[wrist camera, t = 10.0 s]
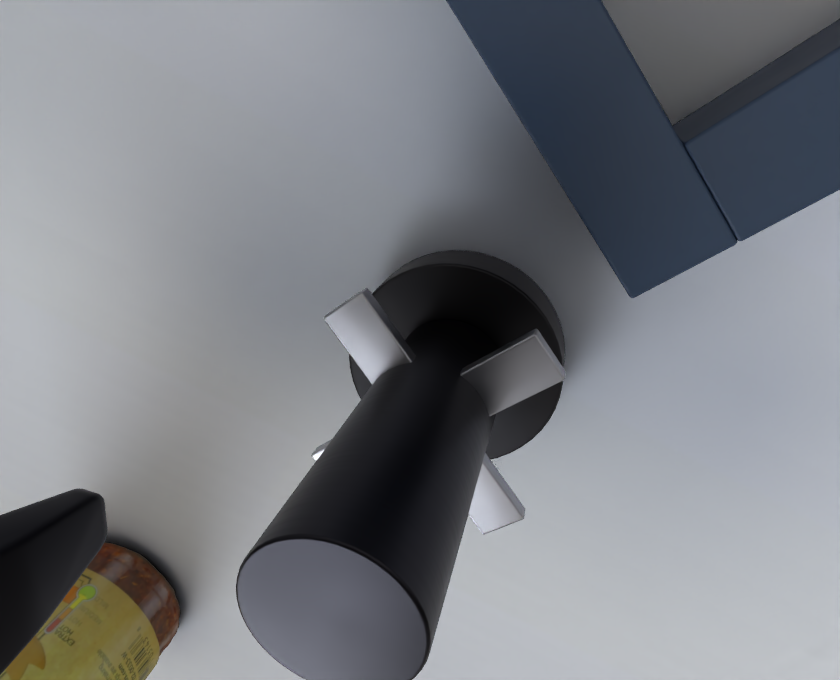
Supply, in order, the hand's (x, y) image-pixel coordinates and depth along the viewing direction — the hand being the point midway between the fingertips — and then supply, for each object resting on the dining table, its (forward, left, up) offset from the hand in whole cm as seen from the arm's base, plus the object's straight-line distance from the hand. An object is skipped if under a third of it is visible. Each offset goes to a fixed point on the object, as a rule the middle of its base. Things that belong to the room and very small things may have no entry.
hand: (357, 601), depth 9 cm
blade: (0, 0, -10) cm, 10 cm away
